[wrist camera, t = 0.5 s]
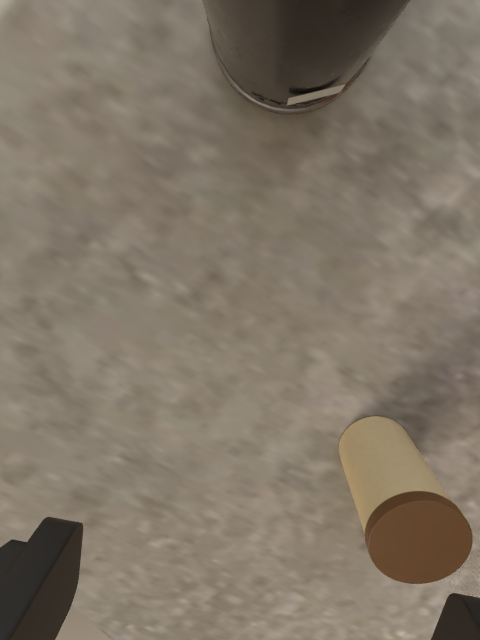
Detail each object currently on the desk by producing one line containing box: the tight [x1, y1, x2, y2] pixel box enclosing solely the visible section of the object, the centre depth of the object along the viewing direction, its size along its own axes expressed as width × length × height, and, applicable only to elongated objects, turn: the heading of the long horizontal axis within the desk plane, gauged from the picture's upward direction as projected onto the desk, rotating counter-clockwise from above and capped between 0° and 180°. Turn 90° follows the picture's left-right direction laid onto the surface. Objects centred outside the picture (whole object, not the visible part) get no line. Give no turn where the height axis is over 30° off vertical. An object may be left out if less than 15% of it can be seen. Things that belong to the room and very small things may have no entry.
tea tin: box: [339, 416, 472, 584], centre depth 26 cm, size 5×5×9 cm
